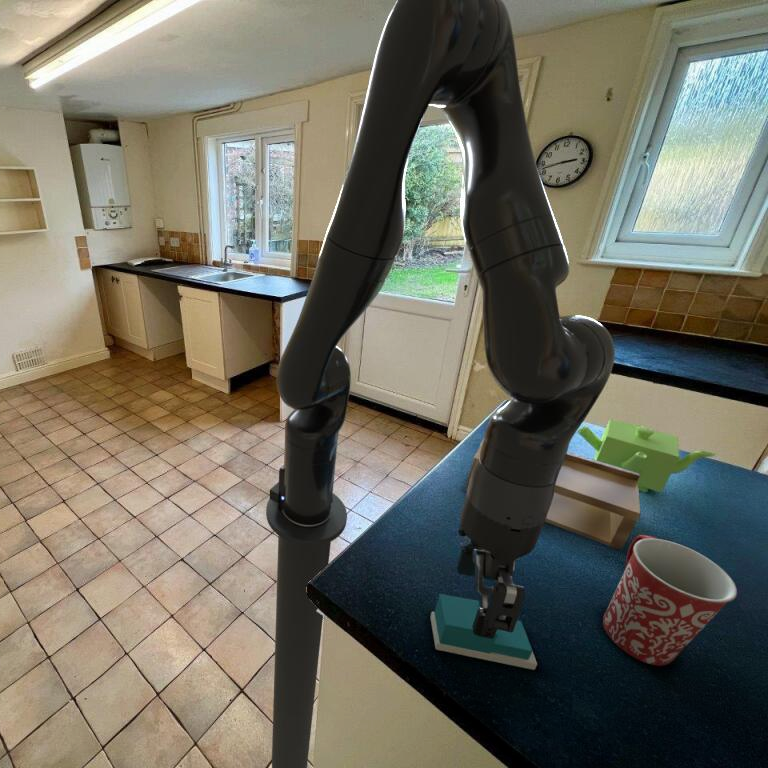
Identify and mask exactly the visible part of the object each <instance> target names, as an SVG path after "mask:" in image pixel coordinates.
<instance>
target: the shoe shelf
mask: <svg viewBox="0 0 768 768" xmlns="http://www.w3.org/2000/svg"><path fill="white" fill-rule="evenodd" d="M482 443H483V440H482V441H481V443H480V445H479V447H478V449H477V450H476V453H475V455H474V457H473V460H472V465H471V468H470V472H469V475H468V478H467V481H466V485H465V489H464V491H465V492H466V493H467V489H468V485H469V482H470V478H471V474H472V471H473V469H474V466H475V464H476V462H477V460H478V457H479V455H480V451H481V447H482ZM639 477H640V474H639V473H636V472H633V471H630V470H626V469H623V468H619V467H616V466H613V465H609V464H606V463H603V462H599V461H596V460H594V459H593V458H589V457H585V456H582V455H579V454H576V453H572V452H569V451H567V453H566V456H565V459H564V462H563V464H562V467H561V470H560V472H559V475H558V478H557V481H556V485H555V491H554V496H553V500H552V503H551V506H550V508H549V511H548V513H547V516H546V519H545V521H544V523H547V524H550V525H552V526H556V527H558V528H560V529H563V530H566V531H568V532H571V533H574V534H577V535H578V536H582V537H584V538H587V539H588V540H589V539H590V540H591V541H595V542H598V543H600V544H602V545H605V546H608V547H610V548H613V549H615V550H618V551H622V550H623V548H624V546H625V544H626V542H627V540H628V538H629V536H630V535H631V533H632V531H633V529H634V527H635V526H636V523H637V521H638V520H639V518H640V515H641V503H640V493H639V491H640V490H638V479H639Z"/></svg>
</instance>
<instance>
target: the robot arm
mask: <svg viewBox="0 0 768 768" xmlns="http://www.w3.org/2000/svg"><path fill="white" fill-rule="evenodd" d="M517 61H518V60H517V53H516V45H515V39H514V33H513V27H512V22H511V17H510V15H509V11H508V9H507V6H506V5H505V3H504V2H503V1H502V0H396V1H395V2H394V5H393V6H392V8H391V11H390V12H389V14H388V17H387V20H386V22H385V25H384V26H383V29H382V32H381V35H380V38H379V41H378V45H377V48H376V52H375V56H374V60H373V63H372V68H371V71H370V76H369V81H368V84H367V89H366V92H365V93H366V94H365V98H364V102H363V107H362V111H361V115H360V120H359V124H358V128H357V132H356V137H355V140H354V144H353V147H352V152H351V155H350V159H349V162H348V164H347V165H348V166H347V169H346V172H345V176H344V179H343V183H342V185H341V190H340V192H339V196H338V198H337V203H336V205H335V209H334V210H333V214H332V217H331V220H330V222H329V225H328V227H327V230H326V234H325V237H324V240H323V243H322V246H321V248H320V252H319V256H318V259H317V263H316V267H315V270H314V273H313V276H312V279H311V282H310V285H309V288H308V291H307V294H306V296H305V299H304V302H303V305H302V308H301V311H300V314H299V317H298V320H297V321H296V324H295V326H294V328H293V331H292V333H291V335H290V338H289V340H288V342H287V344H286V346H285V348H284V350H283V353H282V355H281V357H280V360H279V363H278V365H277V366H278V367H277V369H276V378H275V380H276V381H275V382H276V389H277V392H278V395H279V398H280V399H281V401H282V402H283V403H284V404H285V405H286V406H287V407H289V408H291V409H293V410H292V411H291V412H290V414H288V416H287V418H286V420H285V422H284V423H285V424H284V446H283V448H284V449H283V451H284V452H283V465H282V466H281V467H279V469H278V482H277V483H275V484H274V485H273V486H272V487H271V488H270V489H269V499H270V500H272V501H274V502H276V503H278V509H279V510H281V511H282V513H283V515H284V517H285V518H286V519H287V520H288V521H289V522H290V523H292V524H293V525H296V526H298V527H302V528H316V527H319V526H322V525H324V524H325V523H326V522H327V521H328V520H329V518H330V516H331V506H332V505H331V503H332V504H333V498H332V494H333V493H334V482H335V473H336V464H337V463H336V462H337V452H338V442H339V435H340V434H339V433H340V431H341V429H342V428H343V426H344V423H345V420H346V416H347V410H348V404H349V397H350V391H351V382H352V372H351V365H350V363H349V360H348V358H347V355H346V354H345V352H343V350H342V349H341V348H340V347H339V346H338V344H339V343H340V341H341V340H342V339H343V337H344V336H345V334H346V333H347V332H348V331H349V330H350V328H352V326H353V325H354V324H355V323H356V322H357V321H358V319H359V318H360V317H361V316H362V315H363V313H364V312H366V310H367V309H368V308H369V306H370V305H371V304H372V303H373V302H374V300H375V299H376V298H377V296H378V295H379V293H380V292H381V290H382V288H383V286H384V285H385V282H387V279H388V277H389V275H390V272H391V270H392V268H393V265H394V263H395V261H396V259H397V256H398V254H399V252H400V249H401V247H402V244H403V241H404V235H405V230H406V199H405V198H406V193H405V184H406V183H405V180H406V172H407V166H408V160H409V157H410V154H411V150H412V147H413V144H414V142H415V140H416V136H417V134H418V131H419V130H420V126H421V123H422V121H423V119H424V116H425V115H426V112H427V110H428V108H429V106H431V107H436V108H440V110H441V111H442V113H443V114H444V116H445V117H446V119H447V122H448V123H449V125H450V126H451V130H452V131H453V133H454V135H455V138H456V140H457V143H458V146H459V150H460V155H461V162H462V184H461V196H460V219H461V227H462V228H461V229H462V233H463V237H464V241H465V244H466V247H467V251H468V254H469V258H470V260H471V263H472V267H473V269H474V271H475V276H476V278H477V281H478V283H479V286H480V289H481V295H482V301H481V302H482V303H481V304H482V307H481V311H482V314H481V316H482V317H481V318H482V328H483V329H482V331H483V345H484V346H483V347H484V354H485V359H486V361H485V362H486V364H487V367H488V370H489V373H490V374H491V376H492V378H493V380H494V381H495V383H496V384H497V386H498V387H499V388H500V389H501V390H502V391H503V393H505V394H506V395H507V396H509V397H510V400H508V401H507V402H506V403H505V404H504V405H502V406H501V407H500V408H498V409H496V411H495V412H494V413H492V415H491V416H490V419H489V421H488V423H487V426H486V430H485V432H484V436H483V439H482V441H483V443H482V442H481V443H482V447H481V451H480V455H479V457H478V460H477V462H476V464H475V466H474V469H473V471H472V474H471V478H470V482H469V485H468V489H467V492H466V493H465V497H464V501H463V504H462V510H461V513H460V516H459V522H460V524H459V525H458V526H459V527H458V529H457V532H458V536H459V537H462V539H461V540H460V543H459V547H460V549H461V552H460V555H459V558H458V562H457V566H456V570H457V573H458V574H459V575H462V576H463V575H464V576H470V577H474V589H475V591H476V592H478V601H479V608H478V611H477V614H476V617H475V620H474V623H473V626H472V628H473V632H474V634H475V635H477V636H480V637H485V638H491V639H493V638H494V636H495V634H496V631H497V629H498V630H503V631H507V632H513V631H514V628H515V625H516V622H517V620H518V619H519V616H520V613H521V610H522V607H523V604H524V601H525V598H526V589H525V588H524V586H523V585H517V584H515V583H514V582H513V575H514V572H515V570H516V569H515V565H516V562H515V561H517V559H519V558H522V557H524V556H526V555H528V554H530V553H531V552H533V551H534V549H535V547H536V545H537V542H538V540H539V537H540V534H541V531H542V529H543V527H544V524H545V519H546V516H547V513H548V511H549V508H550V506H551V503H552V500H553V496H554V491H555V485H556V481H557V478H558V475H559V472H560V470H561V467H562V464H563V462H564V459H565V456H566V453H567V452H568V450H569V446H570V444H571V441H572V439H573V437H574V436H575V434H576V433H577V431H578V430H579V429H580V427H581V426H582V424H583V423H584V421H585V420H586V418H587V417H588V415H589V414H590V412H591V411H592V408H593V407H594V405H595V404H596V402H597V400H598V399H599V397H600V395H601V394H602V392H603V390H604V388H605V387H606V386H607V383H608V381H609V379H610V376H611V374H612V370H613V367H614V363H615V357H616V356H615V355H616V349H615V343H614V340H613V337H612V335H611V333H610V331H608V329H607V328H606V327H605V326H604V325H603V324H601V322H598V321H597V320H595V319H594V318H591V317H589V316H585V315H578V314H576V315H575V314H573V315H572V314H570V315H561V316H560V310H559V304H558V297H557V288H558V287H559V286H560V285H562V284H563V282H565V281H566V279H567V278H568V276H569V274H570V262H569V258H568V255H567V251H566V247H565V245H564V241H563V239H562V235H561V232H560V229H559V227H558V224H557V222H556V221H557V220H556V219H555V216H554V213H553V211H552V207H551V205H550V202H549V199H548V196H547V193H546V190H545V187H544V185H543V181H542V178H541V175H540V171H539V169H538V165H537V162H536V159H535V154H534V150H533V147H532V141H531V138H530V133H529V129H528V124H527V119H526V114H525V112H526V111H525V108H524V102H523V101H524V100H523V97H522V90H521V86H520V85H521V84H520V77H519V70H518V69H519V68H518V62H517ZM484 580H488V581H493V582H494V584H493V586H492V585H491V586H490V585H485V584H484ZM489 596H490V598H489V602H488V597H489ZM487 603H488V604H489V605H487Z"/></svg>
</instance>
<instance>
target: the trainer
mask: <svg viewBox="0 0 768 768" xmlns="http://www.w3.org/2000/svg"><path fill="white" fill-rule="evenodd" d="M487 605H489V602H487ZM478 608H479V600H475V599H471V598H466V597H465V598H464V597H458V596H454V595H448V594H442V593H439V594H438V598H437V602H436V605H435V608H434V611H431V613H430V616H429V617H430V622H431V623H430V624H431V629H432V635H433V641H434V648H435V650H437V651H441V652H445V653H446V652H447V653H450V654H451V653H452V654H456V655H461V656H465V657H470V658H474V659H475V658H476V659H480V660H484V661H489V662H495V663H499V664H504V665H509V666H512V667H513V666H514V667H518V668H523V669H528V670H533V671H535V670H536V669H537V668H536V667H537V666H538V662H537V660H536V656H535V654H534V651H533V649H532V645H531V644H530V640H529V637H528V635H527V632H526V630H525V627H524V624H523V622H522V620H518V619H517V622H516V625H515V628H514V631H513V632H507V631H503V630H498V629H497V631H496V634H495V636H494V638H493V639H491V638H485V637H480V636H477V635H475V634H474V632H473V628H472V626H473V623H474V620H475V617H476V614H477V611H478Z"/></svg>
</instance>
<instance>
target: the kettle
mask: <svg viewBox="0 0 768 768" xmlns="http://www.w3.org/2000/svg"><path fill="white" fill-rule="evenodd" d="M576 433H578V434H579V436H580V437H582V439H584V440H585V441H586V442H587V443H588V444H589V445H590V446H591V447H592V448H593V449H594V450H595V454H594V459H593V460H596V461H599V462H603V463H606V464H609V465H613V466H616V467H619V468H623V469H626V470H630V471H633V472H636V473H639V474H640V477H639V479H638V490H639V491H640V492H644V493H646V492H647V493H648V492H649V490H651V491H655V492H659V493H662V492H663V490H664V488H665V486H666V484H667V482H668V480H669V479H670V477H671V475H673V474H679V473H682V472H683V471H685V470H687V469H688V468H689V467H690V466H691V465H692V464H693V463H695V462H697V461H698V460H700V459H702V458H703V459H704V458H706V457H708V458H709V457H718V455H717V454H715V453H713V452H709V451H705V450H695V451H692V452H690V453H688V454H686V455H684V457H681V455H680V447H679V437H678V435H673V434H670V433H667V432H662V431H659V430H655V429H651V428H648V427H645V426H643V425H641V424H638V423H636V424H633V423H628V422H624V421H622V420H617V419H613V418H609V419H608V422H607V424H606V426H605V429H604V431H603V434H602V436H601V438H599V437H598V436H597V435H596V433H594V432H593V431H592V430H591V429H590V428H589V427H588V426H582V427H581V428H578V430H577V431H576Z"/></svg>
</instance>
